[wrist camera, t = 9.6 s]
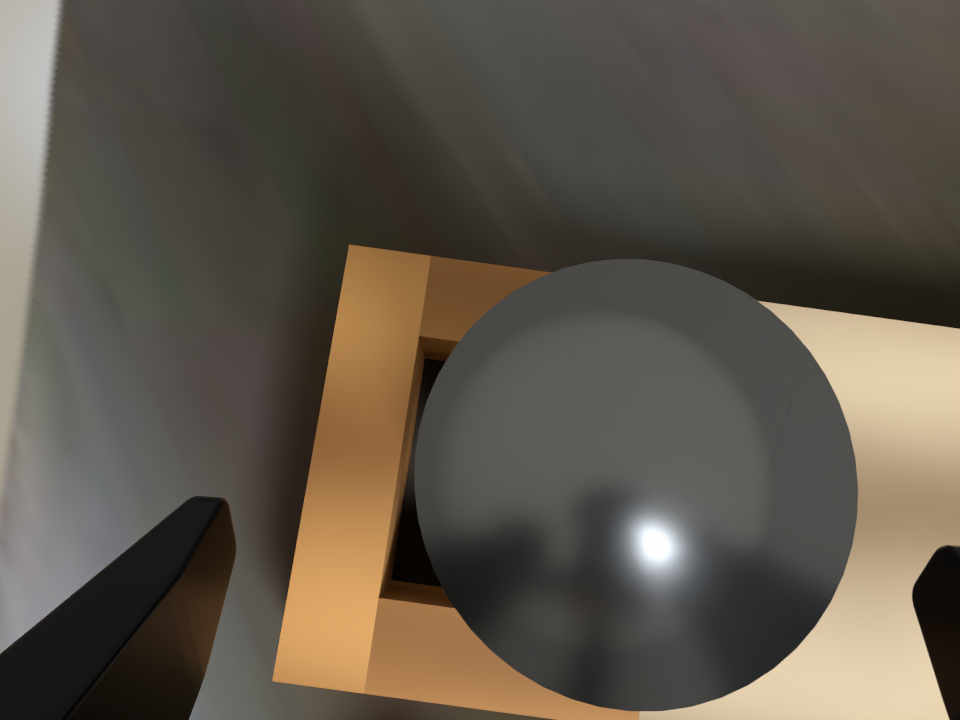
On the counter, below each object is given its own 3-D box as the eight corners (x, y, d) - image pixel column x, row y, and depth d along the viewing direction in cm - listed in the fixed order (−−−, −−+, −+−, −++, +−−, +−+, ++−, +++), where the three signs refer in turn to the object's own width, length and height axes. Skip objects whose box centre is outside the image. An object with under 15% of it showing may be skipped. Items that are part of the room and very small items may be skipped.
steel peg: (612, 528, 19) (931, 617, 6) (471, 578, 19) (499, 782, 6) (562, 389, 20) (755, 206, 7) (425, 435, 19) (357, 334, 6)
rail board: (1255, 778, 18) (1409, 834, 15) (302, 649, 18) (272, 680, 15) (1232, 399, 20) (1366, 385, 17) (365, 280, 20) (348, 244, 17)
